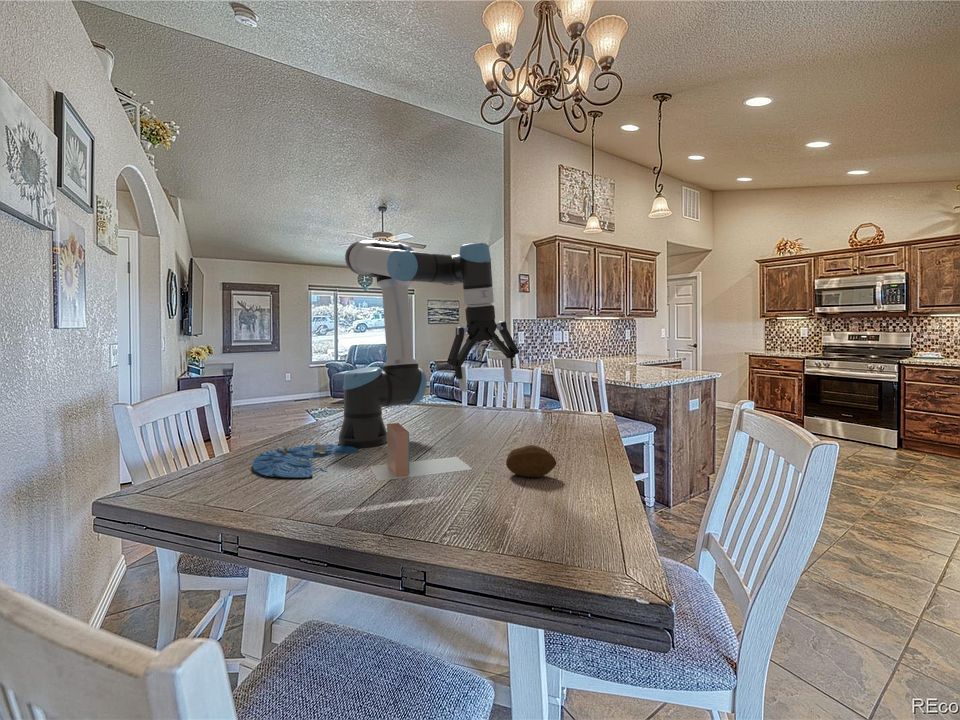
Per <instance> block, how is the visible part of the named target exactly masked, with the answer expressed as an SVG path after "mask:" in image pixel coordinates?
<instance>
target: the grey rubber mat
mask: <svg viewBox="0 0 960 720" xmlns="http://www.w3.org/2000/svg"><path fill="white" fill-rule="evenodd" d="M369 468H370V471H371V472H372V474H373V475H374V477H375V478H376V480H377V482H382V481H389V480H399V479H406V478H414V477H421V476H430V475H437V474H446V473H454V472H462V471H469V470H473V468H472V467H470V466H469V465H468V464H467V463H465V461H463V460H462V459H460V458H459V457H458V456H452V457H442V458H432V459H426V460H425V459H423V460H416V461H409V474H408V476H402V477H395V475H394V474H393V472H392V471H391V470H390V468H389V467H388V466H387V464H378V465H370V466H369Z"/></svg>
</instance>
